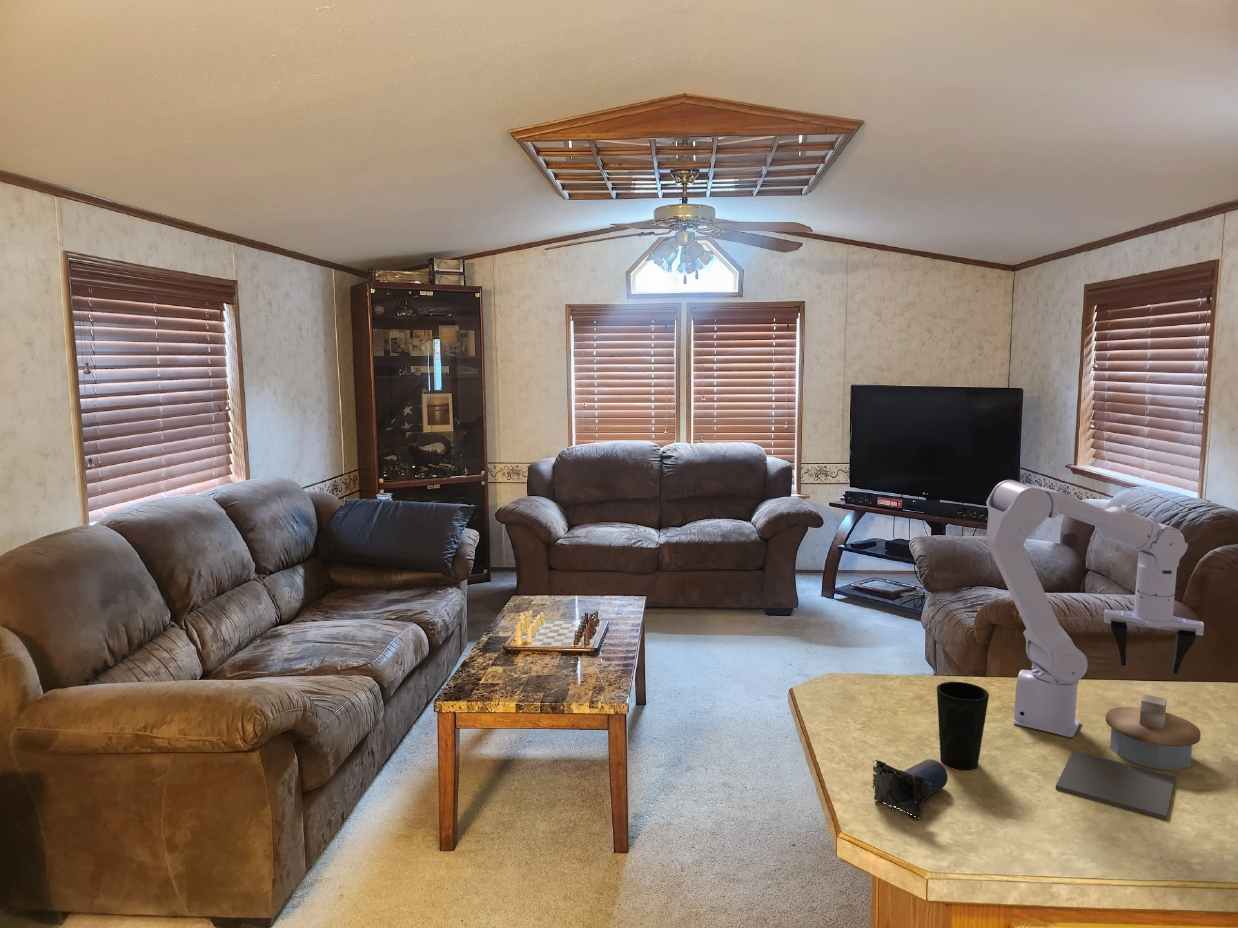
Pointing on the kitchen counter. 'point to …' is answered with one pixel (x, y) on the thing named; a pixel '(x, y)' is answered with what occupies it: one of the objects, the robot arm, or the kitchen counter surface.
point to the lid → (1153, 724)
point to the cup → (961, 723)
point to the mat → (1117, 784)
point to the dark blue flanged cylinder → (908, 785)
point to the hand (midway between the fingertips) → (1148, 667)
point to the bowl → (1150, 752)
